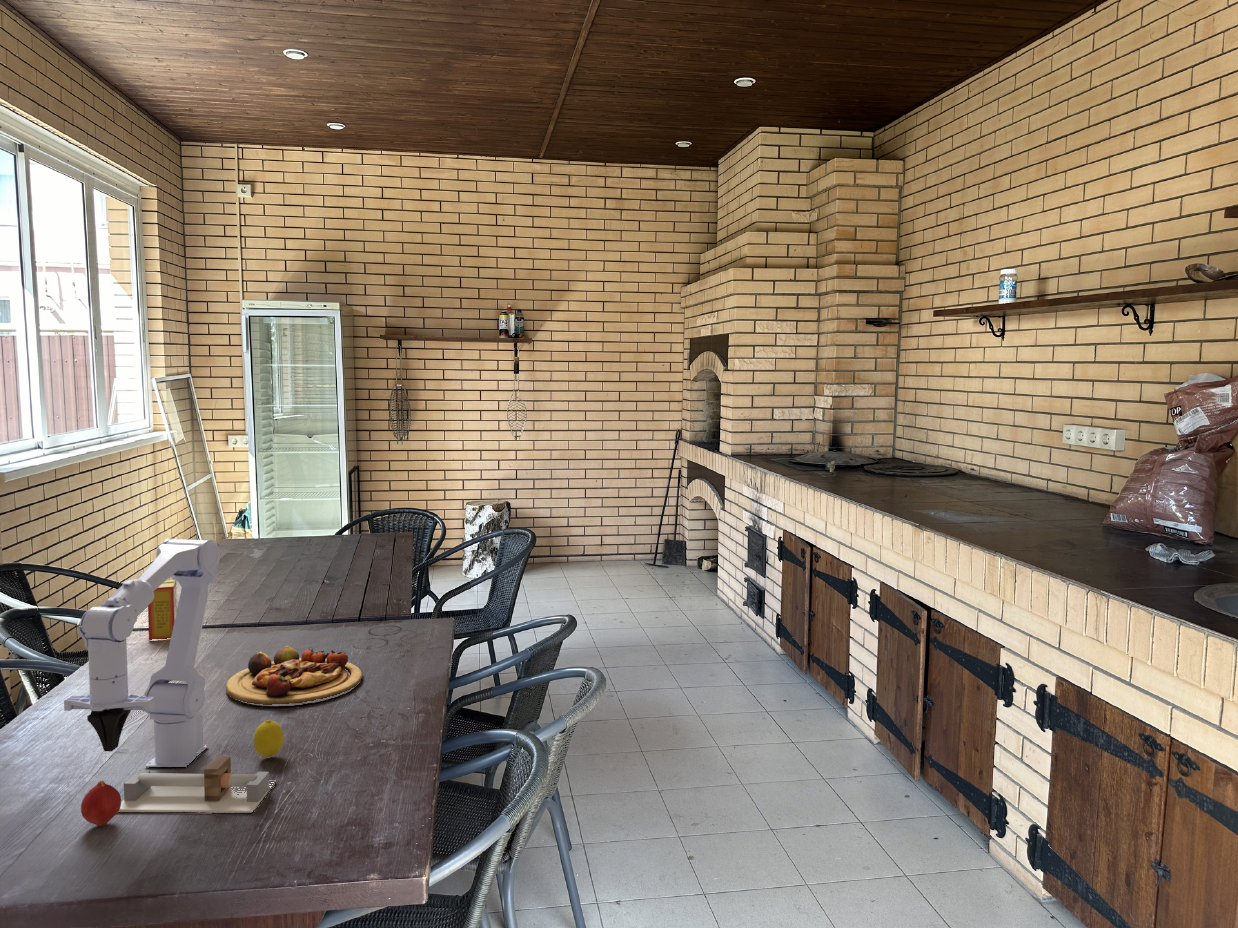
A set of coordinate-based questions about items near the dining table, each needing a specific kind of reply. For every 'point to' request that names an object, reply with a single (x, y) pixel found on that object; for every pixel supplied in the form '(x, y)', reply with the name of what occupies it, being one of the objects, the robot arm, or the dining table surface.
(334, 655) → the wooden plate with food
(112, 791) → the red pomegranate
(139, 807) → the rail
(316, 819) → the dining table surface
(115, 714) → the robot arm
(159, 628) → the baking soda box
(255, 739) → the lemon
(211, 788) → the collar
